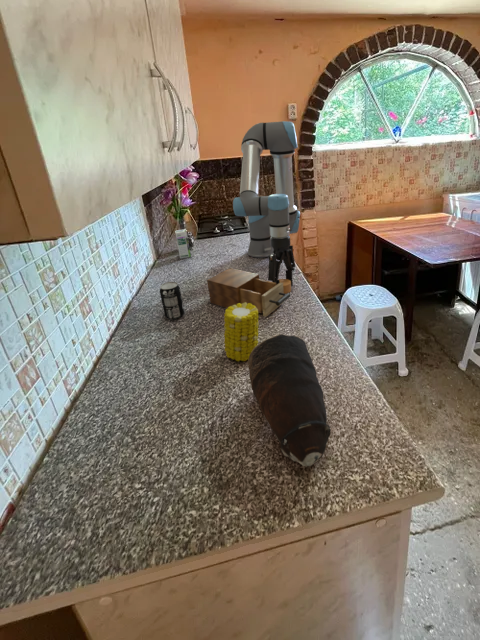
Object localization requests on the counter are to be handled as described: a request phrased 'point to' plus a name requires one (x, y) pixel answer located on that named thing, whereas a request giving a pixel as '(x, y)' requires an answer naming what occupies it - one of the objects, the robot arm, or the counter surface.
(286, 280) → the short wooden cylinder
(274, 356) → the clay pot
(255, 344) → the food
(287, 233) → the robot arm
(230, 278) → the cabinet
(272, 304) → the drawer
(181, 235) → the syrup box
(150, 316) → the counter surface
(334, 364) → the counter surface
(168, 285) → the beverage can
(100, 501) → the counter surface
